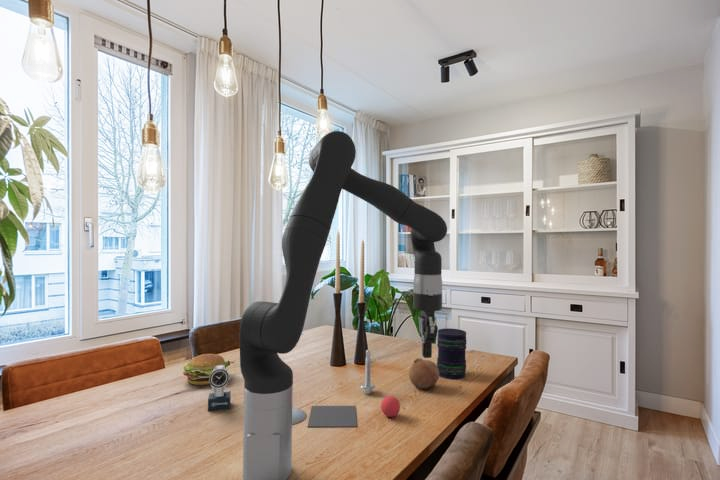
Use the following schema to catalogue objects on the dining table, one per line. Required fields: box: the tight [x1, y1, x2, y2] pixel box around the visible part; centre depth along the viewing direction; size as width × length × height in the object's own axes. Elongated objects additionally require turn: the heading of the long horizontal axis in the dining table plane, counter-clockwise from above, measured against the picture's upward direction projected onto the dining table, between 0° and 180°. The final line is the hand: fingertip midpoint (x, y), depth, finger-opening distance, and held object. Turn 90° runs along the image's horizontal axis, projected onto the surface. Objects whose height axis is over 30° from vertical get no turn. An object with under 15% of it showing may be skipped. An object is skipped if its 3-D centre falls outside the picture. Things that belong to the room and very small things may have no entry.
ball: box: [380, 395, 401, 418], centre depth 102 cm, size 5×5×5 cm
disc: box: [292, 407, 307, 425], centre depth 101 cm, size 10×10×1 cm
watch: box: [207, 365, 232, 412], centre depth 106 cm, size 6×8×11 cm
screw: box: [359, 349, 377, 395], centre depth 118 cm, size 13×5×5 cm
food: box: [183, 353, 231, 386], centre depth 127 cm, size 14×14×8 cm
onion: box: [408, 357, 440, 390], centre depth 122 cm, size 10×9×10 cm
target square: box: [307, 405, 358, 428], centre depth 101 cm, size 12×12×1 cm
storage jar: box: [436, 328, 467, 381], centre depth 135 cm, size 10×10×15 cm
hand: (426, 356), depth 103 cm, fingers closed
